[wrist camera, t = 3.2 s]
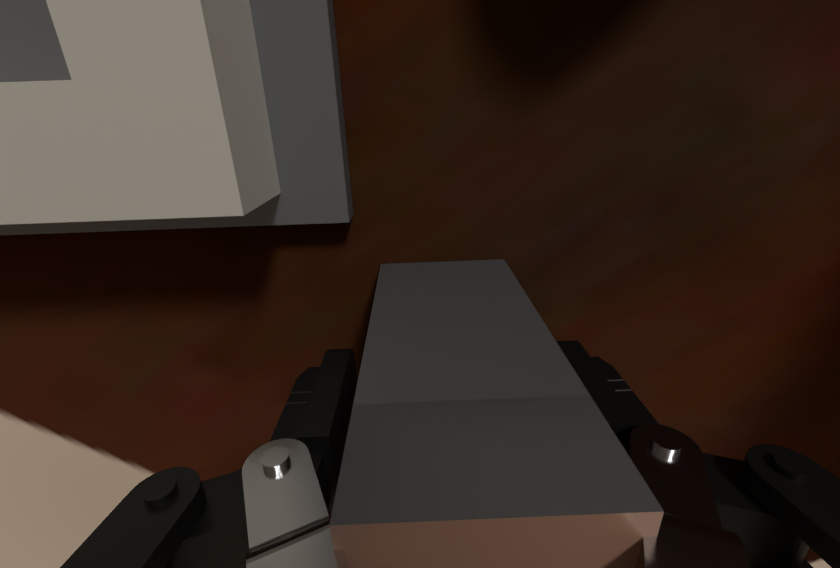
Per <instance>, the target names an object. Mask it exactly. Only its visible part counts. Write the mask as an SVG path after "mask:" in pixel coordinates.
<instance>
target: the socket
mask: <svg viewBox="0 0 840 568" xmlns="http://www.w3.org/2000/svg"><path fill="white" fill-rule="evenodd" d="M352 217H353V206H352V196H351V185H350V175H349V165H348V154H347V144H346V134H345V123H344V113H343V103H342V92H341V82H340V72H339V61H338V51H337V41H336V30H335V20H334V10H333V0H0V235H26V234H53V233H80V232H107V231H134V230H161V229H188V228H215V227H242V226H269V225H296V224H323V223H349V222H350V220H351V219H352Z"/></svg>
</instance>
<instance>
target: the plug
mask: <svg viewBox="0 0 840 568" xmlns="http://www.w3.org/2000/svg"><path fill="white" fill-rule="evenodd" d="M663 514H664V510H663V509H662V507H661V506H660V504H659V503H658V501H657V499H656V498H655V496H654V495H653V493H652V492H651V490H650V488H649V487H648V485H647V484H646V482H645V481H644V479H643V477H642V476H641V474H640V473H639V471H638V470H637V468H636V466H635V465H634V463H633V462H632V460H631V459H630V457H629V455H628V454H627V452H626V451H625V449H624V447H623V446H622V444H621V443H620V441H619V440H618V438H617V436H616V435H615V433H614V432H613V430H612V429H611V427H610V425H609V424H608V422H607V421H606V419H605V418H604V416H603V414H602V413H601V411H600V410H599V408H598V407H597V405H596V403H595V402H594V400H593V399H592V397H591V396H590V394H589V392H588V391H587V389H586V388H585V386H584V385H583V383H582V381H581V380H580V378H579V377H578V375H577V373H576V372H575V370H574V369H573V367H572V366H571V364H570V362H569V361H568V359H567V358H566V356H565V355H564V353H563V351H562V350H561V348H560V347H559V345H558V344H557V342H556V340H555V339H554V337H553V336H552V334H551V333H550V331H549V329H548V328H547V326H546V325H545V323H544V322H543V320H542V318H541V317H540V315H539V314H538V312H537V311H536V309H535V307H534V306H533V304H532V303H531V301H530V299H529V298H528V296H527V295H526V293H525V292H524V290H523V288H522V287H521V285H520V284H519V282H518V281H517V279H516V277H515V276H514V274H513V273H512V271H511V270H510V268H509V266H508V265H507V263H506V262H505V260H504V259H500V260H474V261H447V262H421V263H394V264H381V265H380V271H379V276H378V281H377V286H376V291H375V296H374V301H373V306H372V311H371V316H370V321H369V326H368V331H367V337H366V342H365V347H364V352H363V357H362V362H361V367H360V372H359V377H358V382H357V387H356V392H355V397H354V403H353V408H352V413H351V418H350V423H349V428H348V433H347V438H346V443H345V448H344V453H343V458H342V463H341V469H340V474H339V479H338V484H337V489H336V494H335V499H334V504H333V509H332V514H331V519H330V524H329V527H330V533H331V538H332V544H333V550H343V552H344V555H345V558H346V561H347V564H348V567H349V568H635V566H636V563H637V559H638V555H639V551H640V548H641V544H642V540H643V537H656V536H657V535H658V531H659V528H660V524H661V521H662V517H663Z"/></svg>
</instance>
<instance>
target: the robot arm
mask: <svg viewBox="0 0 840 568" xmlns="http://www.w3.org/2000/svg"><path fill="white" fill-rule="evenodd" d="M556 342H557V344H558V345H559V347H560V348H561V350H562V351H563V353H564V355H565V356H566V358H567V359H568V361H569V362H570V364H571V366H572V367H573V369H574V370H575V372H576V373H577V375H578V377H579V378H580V380H581V381H582V383H583V385H584V386H585V388H586V389H587V391H588V392H589V394H590V396H591V397H592V399H593V400H594V402H595V403H596V405H597V407H598V408H599V410H600V411H601V413H602V414H603V416H604V418H605V419H606V421H607V422H608V424H609V425H610V427H611V429H612V430H613V432H614V433H615V435H616V436H617V438H618V440H619V441H620V443H621V444H622V446H623V447H624V449H625V451H626V452H627V454H628V455H629V457H630V459H631V460H632V462H633V463H634V465H635V466H636V468H637V470H638V471H639V473H640V474H641V476H642V477H643V479H644V481H645V482H646V484H647V485H648V487H649V488H650V490H651V492H652V493H653V495H654V496H655V498H656V499H657V501H658V503H659V504H660V506H661V507H662V509H663V510H664V514H663V517H662V521H661V524H660V528H659V531H658V535H657V536H656V537H643V540H642V544H641V548H640V551H639V555H638V559H637V563H636V566H635V568H813V567H812V566H811V565H810V564H809V563H808V562H807V561H806V560H805V559H804V558H805V556H806V554H807V552H808V550H809V548H811V549H812V550H813V551H814V552H816V553H817V554H818V555H819V556H820V557H821V558H822V559H823V560H824V561H826V563H828V564H829V565H830V566H831V567H832V568H840V480H839V479H838V478H837V477H835V476H834V475H833V474H831V473H830V472H828V471H827V470H826V469H824V468H823V467H822V466H820V465H819V464H817V463H816V462H814V461H813V460H811V459H809V458H808V457H806V456H804V455H802V454H800V453H798V452H795V451H793V450H790V449H787V448H784V447H780V446H776V445H769V444H761V445H755V446H753V447H751V448H750V449H749V450H748V451H747V454H746V457H745V460H744V461H741V460H736V459H731V458H726V457H721V456H715V455H710V454H706V453H702V451H701V449H700V448H699V446H698V445H697V444H696V443H695V442H694V441H693V440H692V439H691V438H689V437H688V436H686V435H685V434H683V433H682V432H680V431H678V430H675V429H673V428H670V427H667V426H664V425H659V424H658V422H657V421H656V420H655V419H654V417H653V416H652V415H651V414H650V412H649V411H648V410H647V409H646V407H645V406H644V405H643V404H642V402H641V401H640V400H639V399H638V397H637V396H636V395H635V394H634V392H633V391H631V390H630V387H629V386H628V385H627V384H626V382H625V381H623V379H622V377H621V376H620V375H619V374H618V372H617V371H616V370H615V369H614V367H613V366H611V365H610V364H608V363H607V362H605V361H604V360H602V359H600V358H599V357H590V356H589V354H588V353H587V352H586V350H585V349H584V348H583V346H582V345H581V344H580V342H579V341H556ZM356 387H357V378H356V369H355V359H354V352H353V349H333V350H327V351H326V353H325V356H324V358H323V361H322V364H321V367H309V368H308V369H306V370H305V371H304V372H303V373H302V374H301V375H300V376H299V377H298V378H297V379H296V381H295V384H294V386H293V389H292V391H291V394H290V396H289V398H288V400H287V404H286V405H285V407H284V410H283V412H282V414H281V417H280V419H279V421H278V424H277V426H276V428H275V431H274V433H273V435H272V438H271V440H270V442H268V443H266V444H264V445H262V446H260V447H259V448H257V449H256V450H255V451H254V452H252V453H251V454H250V456H249V457H248V458H247V459H246V461H245V463H244V465H243V468H242V469H240V470H238V471H235V472H232V473H229V474H226V475H223V476H219V477H216V478H212V479H209V480H206V481H202V482H201V480H200V477H199V474H198V473H197V472H196V471H195V470H193V469H191V468H187V467H174V468H169V469H166V470H163V471H160V472H158V473H155V474H153V475H151V476H150V477H148V478H146V479H145V480H143V481H142V482H140V483H139V484H138V485H137V486H136V487H134V489H132V491H130V493H129V494H128V495H127V496H126V497H125V498H124V499H123V500H122V501H121V502H120V503H119V504H118V505H117V507H116V508H115V509H114V510H113V511H112V512H111V513H110V514H109V516H107V517H106V519H105V520H104V521H103V522H102V523H101V524H100V525H99V526H98V527H97V528H96V529H95V530H94V532H93V533H92V534H91V535H90V536H89V537H88V538H87V539H86V540H85V541H84V543H82V545H81V546H80V547H79V548H78V549H77V550H76V551H75V552H74V553H73V554H72V555H71V557H70V558H69V559H68V560H67V561H66V562H65V563H64V564H63V565H62V566H61V567H60V568H349V567H348V564H347V561H346V558H345V555H344V552H343V550H333V544H332V538H331V533H330V527H329V524H330V519H331V518H329V515H328V513H332V509H333V504H334V499H335V494H336V489H337V484H338V479H339V474H340V469H341V463H342V458H343V453H344V448H345V443H346V438H347V433H348V428H349V423H350V418H351V413H352V408H353V403H354V397H355V392H356Z"/></svg>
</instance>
